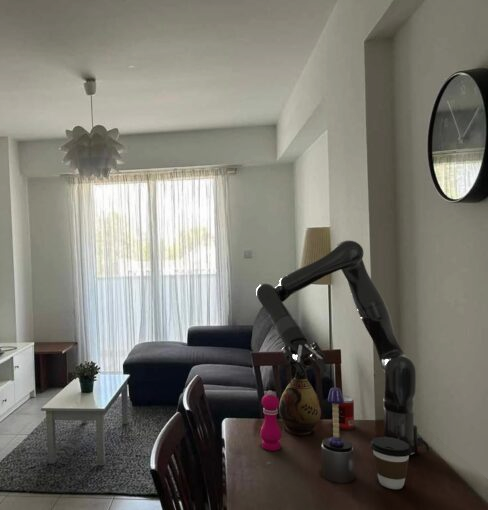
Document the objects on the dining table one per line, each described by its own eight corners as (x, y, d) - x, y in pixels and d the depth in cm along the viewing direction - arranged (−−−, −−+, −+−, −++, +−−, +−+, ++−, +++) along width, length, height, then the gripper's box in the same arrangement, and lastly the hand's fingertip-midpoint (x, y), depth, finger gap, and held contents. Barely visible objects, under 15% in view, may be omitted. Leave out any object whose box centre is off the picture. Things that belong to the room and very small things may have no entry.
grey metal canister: (348, 469, 146) (347, 437, 146) (357, 483, 137) (357, 449, 137) (318, 468, 147) (318, 437, 147) (326, 482, 138) (325, 448, 138)
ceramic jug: (330, 435, 173) (328, 355, 173) (293, 440, 169) (291, 358, 169) (304, 420, 189) (302, 346, 189) (269, 424, 185) (268, 349, 185)
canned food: (353, 423, 184) (352, 396, 184) (355, 430, 177) (354, 402, 177) (332, 421, 187) (332, 394, 187) (333, 428, 179) (333, 400, 179)
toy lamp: (325, 440, 144) (324, 386, 144) (339, 439, 145) (339, 386, 145) (332, 446, 139) (332, 391, 139) (347, 445, 140) (346, 390, 140)
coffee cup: (411, 497, 129) (410, 454, 129) (368, 487, 135) (367, 446, 135) (413, 480, 138) (412, 440, 138) (372, 472, 144) (372, 433, 144)
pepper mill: (279, 443, 167) (278, 387, 167) (283, 451, 160) (282, 393, 160) (259, 442, 168) (258, 387, 168) (262, 451, 160) (261, 393, 160)
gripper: (278, 326, 155) (303, 368, 145) (311, 323, 161) (337, 363, 150) (268, 340, 160) (291, 381, 150) (300, 336, 166) (325, 376, 155)
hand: (314, 372), depth 150 cm, fingers open, 8 cm apart
